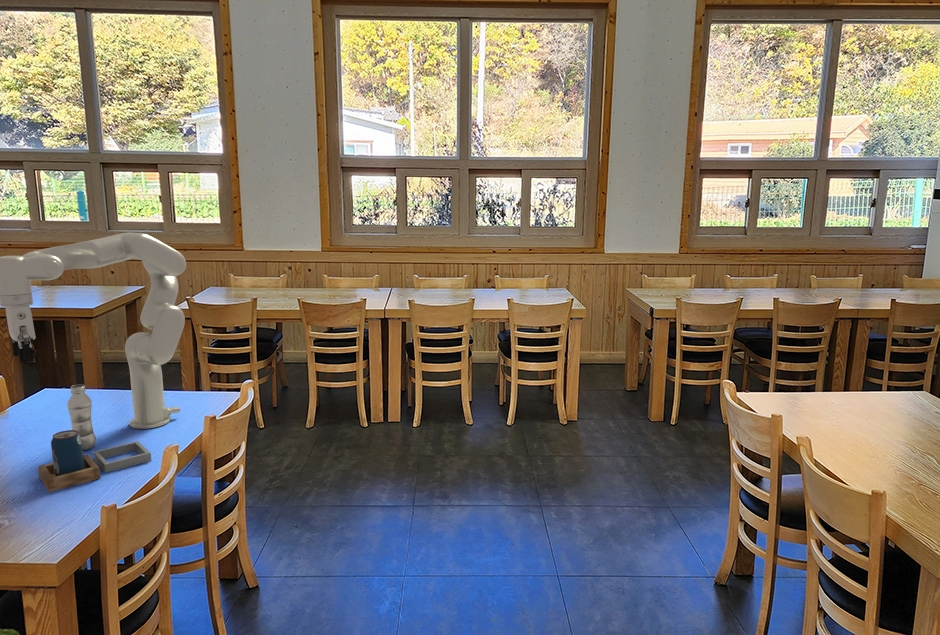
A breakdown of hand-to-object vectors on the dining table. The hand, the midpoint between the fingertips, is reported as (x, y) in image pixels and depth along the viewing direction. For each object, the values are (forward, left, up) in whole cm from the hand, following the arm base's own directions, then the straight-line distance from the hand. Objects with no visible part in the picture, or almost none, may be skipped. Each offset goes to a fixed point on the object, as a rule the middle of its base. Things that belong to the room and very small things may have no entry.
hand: (23, 358), depth 174 cm
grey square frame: (-18, +19, -30) cm, 40 cm away
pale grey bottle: (-12, +2, -31) cm, 33 cm away
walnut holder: (-4, +22, -30) cm, 38 cm away
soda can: (-4, +22, -30) cm, 37 cm away
